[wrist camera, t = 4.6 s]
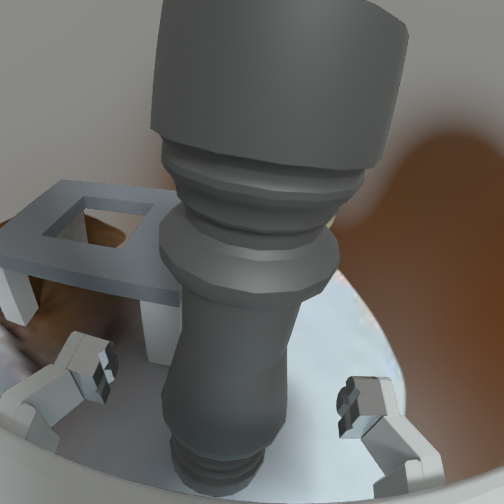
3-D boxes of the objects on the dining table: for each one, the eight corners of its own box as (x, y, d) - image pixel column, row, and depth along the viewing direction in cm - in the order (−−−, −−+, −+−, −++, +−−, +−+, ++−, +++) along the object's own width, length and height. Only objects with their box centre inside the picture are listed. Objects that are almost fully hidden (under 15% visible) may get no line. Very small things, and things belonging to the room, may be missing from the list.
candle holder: (195, 412, 23) (222, 21, 9) (269, 441, 21) (404, 53, 8) (158, 474, 18) (90, -9, 4) (240, 509, 16) (453, 10, 3)
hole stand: (6, 319, 25) (-22, 248, 20) (70, 240, 39) (61, 179, 34) (181, 368, 26) (179, 291, 21) (209, 263, 39) (215, 196, 34)
